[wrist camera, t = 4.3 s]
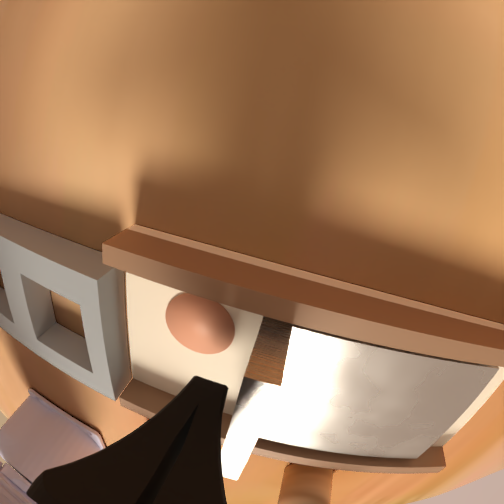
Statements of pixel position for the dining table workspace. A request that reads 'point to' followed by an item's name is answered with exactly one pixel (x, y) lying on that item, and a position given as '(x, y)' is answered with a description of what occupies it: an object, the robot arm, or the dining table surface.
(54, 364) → the socket board
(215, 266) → the pattern tray
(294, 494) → the birch peg
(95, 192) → the dining table surface
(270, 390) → the cover
